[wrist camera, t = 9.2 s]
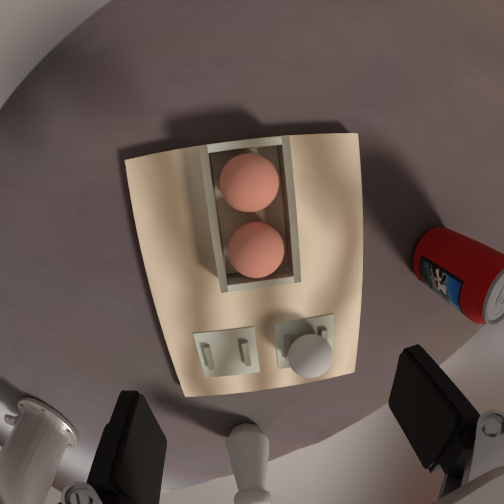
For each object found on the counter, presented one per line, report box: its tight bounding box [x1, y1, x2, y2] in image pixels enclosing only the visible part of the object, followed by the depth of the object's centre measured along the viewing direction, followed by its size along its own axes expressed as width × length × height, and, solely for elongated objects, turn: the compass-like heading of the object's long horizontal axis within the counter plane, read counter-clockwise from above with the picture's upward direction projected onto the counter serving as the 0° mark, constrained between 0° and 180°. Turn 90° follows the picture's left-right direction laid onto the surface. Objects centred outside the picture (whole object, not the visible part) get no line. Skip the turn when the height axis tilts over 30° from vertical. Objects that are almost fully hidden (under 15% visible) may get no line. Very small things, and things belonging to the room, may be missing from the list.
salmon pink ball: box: [228, 222, 284, 278], centre depth 23 cm, size 4×4×4 cm
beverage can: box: [413, 227, 504, 325], centre depth 23 cm, size 7×7×12 cm
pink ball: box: [219, 153, 279, 212], centre depth 21 cm, size 4×4×4 cm
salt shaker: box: [226, 423, 272, 504], centre depth 29 cm, size 6×6×13 cm
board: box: [125, 133, 363, 397], centre depth 26 cm, size 20×26×4 cm
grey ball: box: [288, 334, 333, 378], centre depth 26 cm, size 4×4×4 cm
